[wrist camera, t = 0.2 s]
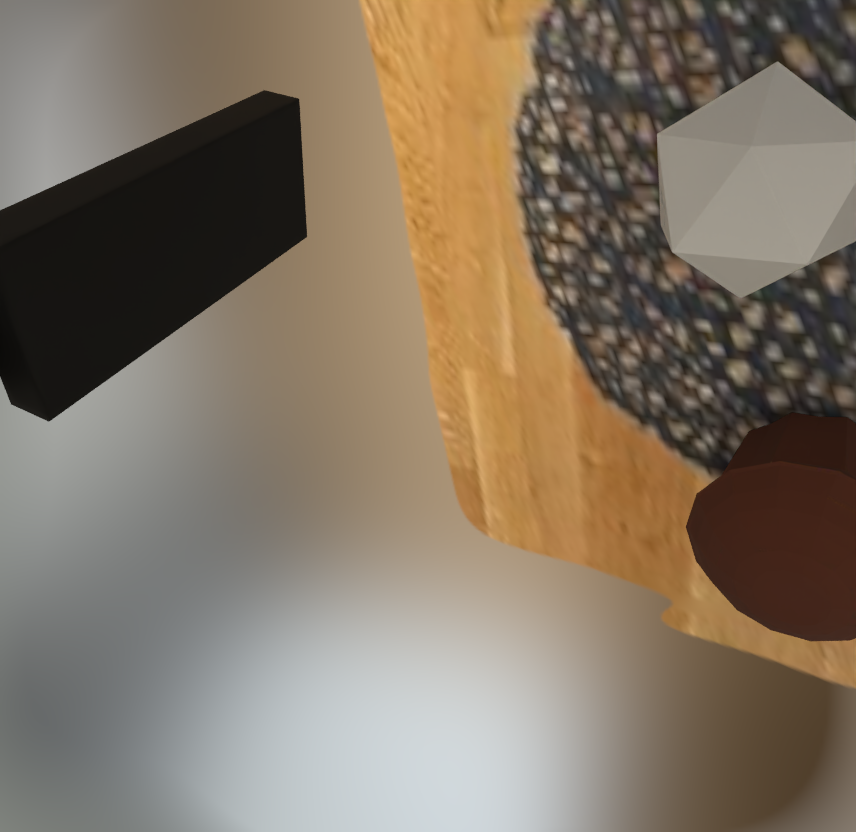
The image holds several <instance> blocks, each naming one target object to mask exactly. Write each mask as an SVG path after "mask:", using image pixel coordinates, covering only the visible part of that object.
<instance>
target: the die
mask: <svg viewBox="0 0 856 832" xmlns="http://www.w3.org/2000/svg"><path fill="white" fill-rule="evenodd" d="M657 148H658V171H659V194H660V217H661V227H662V229H663V232H664V234H665V236H666V239H667V241H668V243H669V246H670V248H671V250H672V252H673V253H674V254H676V255H677V256H679V257H680V258H682V259H683V260H684V261H686V262H687V263H689V264H690V265H692V266H693V267H695V268H696V269H698V270H699V271H701V272H702V273H704V274H705V275H707V276H708V277H710V278H711V279H713V280H714V281H715V282H717V283H718V284H720V285H721V286H723V287H724V288H726V289H727V290H729V291H730V292H732V293H733V294H735V295H736V296H738V297H739V298H743V297H745V296H747V295H749V294H751V293H753V292H755V291H757V290H759V289H761V288H763V287H765V286H767V285H769V284H771V283H773V282H775V281H777V280H779V279H781V278H783V277H785V276H787V275H789V274H791V273H793V272H795V271H797V270H799V269H801V268H803V267H805V266H807V265H809V264H811V263H813V262H815V261H817V260H819V259H821V258H823V257H825V256H827V255H829V254H831V253H833V252H835V251H837V250H839V249H841V248H843V247H845V246H847V245H849V244H851V243H853V242H855V241H856V121H855V120H854V119H852V118H851V117H850V116H848V115H847V114H846V113H844V112H843V111H842V110H840V109H839V108H838V107H837V106H835V105H834V104H833V103H831V102H830V101H829V100H827V99H826V98H825V97H824V96H822V95H821V94H820V93H818V92H817V91H816V90H814V89H813V88H812V87H810V86H809V85H808V84H807V83H805V82H804V81H803V80H801V79H800V78H799V77H797V76H796V75H795V74H793V73H792V72H791V71H790V70H788V69H787V68H786V67H784V66H783V65H782V64H780V63H779V62H778V61H777V62H776V63H774V64H772V65H771V66H769V67H767V68H766V69H764V70H762V71H761V72H759V73H757V74H756V75H754V76H752V77H751V78H749V79H747V80H746V81H744V82H743V83H741V84H739V85H738V86H736V87H734V88H733V89H731V90H729V91H728V92H726V93H724V94H723V95H721V96H719V97H718V98H716V99H714V100H713V101H711V102H709V103H708V104H706V105H704V106H703V107H701V108H699V109H698V110H696V111H694V112H693V113H691V114H690V115H688V116H686V117H685V118H683V119H681V120H680V121H678V122H676V123H675V124H673V125H671V126H670V127H668V128H666V129H665V130H663V131H661V132H660V133H658V134H657Z"/></svg>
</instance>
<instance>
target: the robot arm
mask: <svg viewBox="0 0 856 832" xmlns="http://www.w3.org/2000/svg"><path fill="white" fill-rule="evenodd" d="M306 237H307V229H306V212H305V194H304V176H303V158H302V141H301V123H300V106H299V99H298V98H294V97H290V96H286V95H282V94H277V93H273V92H269V91H262V92H260V93H258V94H255V95H253V96H251V97H249V98H246V99H244V100H242V101H240V102H238V103H235V104H233V105H231V106H229V107H227V108H224V109H222V110H220V111H218V112H216V113H213V114H211V115H209V116H207V117H205V118H203V119H201V120H198V121H196V122H194V123H192V124H189V125H187V126H185V127H183V128H180V129H178V130H176V131H174V132H172V133H169V134H167V135H165V136H163V137H161V138H158V139H156V140H154V141H152V142H150V143H148V144H145V145H143V146H141V147H139V148H137V149H134V150H132V151H130V152H128V153H126V154H123V155H121V156H119V157H117V158H115V159H112V160H110V161H108V162H106V163H104V164H101V165H99V166H97V167H95V168H93V169H91V170H88V171H86V172H84V173H82V174H79V175H77V176H75V177H73V178H71V179H68V180H66V181H64V182H62V183H60V184H57V185H55V186H53V187H51V188H49V189H46V190H44V191H42V192H40V193H38V194H36V195H33V196H31V197H29V198H27V199H24V200H22V201H20V202H18V203H16V204H14V205H11V206H9V207H7V208H5V209H2V210H0V377H1V379H2V382H3V385H4V387H5V389H6V392H7V394H8V397H9V400H10V402H11V404H12V405H14V406H16V407H18V408H21V409H23V410H25V411H27V412H29V413H32V414H34V415H36V416H38V417H40V418H42V419H45V420H47V421H50V420H52V419H53V418H55V417H56V416H57V415H59V414H60V413H62V412H63V411H64V410H66V409H67V408H69V407H70V406H71V405H73V404H74V403H75V402H77V401H78V400H80V399H81V398H83V397H84V396H85V395H87V394H88V393H89V392H91V391H92V390H94V389H95V388H96V387H98V386H99V385H101V384H102V383H103V382H105V381H106V380H108V379H109V378H110V377H112V376H113V375H115V374H116V373H117V372H119V371H120V370H122V369H123V368H124V367H126V366H127V365H129V364H130V363H131V362H133V361H134V360H136V359H137V358H138V357H140V356H141V355H143V354H144V353H145V352H147V351H148V350H150V349H151V348H152V347H154V346H155V345H156V344H158V343H159V342H161V341H162V340H164V339H165V338H166V337H168V336H169V335H170V334H172V333H173V332H175V331H176V330H178V329H179V328H180V327H182V326H183V325H184V324H186V323H187V322H188V321H190V320H191V319H193V318H194V317H196V316H197V315H198V314H200V313H201V312H203V311H204V310H205V309H207V308H208V307H210V306H211V305H212V304H214V303H215V302H217V301H218V300H219V299H221V298H222V297H224V296H225V295H226V294H228V293H229V292H230V291H232V290H233V289H235V288H236V287H238V286H239V285H240V284H242V283H243V282H244V281H246V280H247V279H249V278H250V277H252V276H253V275H254V274H256V273H257V272H258V271H260V270H261V269H263V268H264V267H266V266H267V265H268V264H269V263H271V262H273V261H274V260H275V259H276V258H278V257H279V256H281V255H282V254H284V253H285V252H286V251H288V250H289V249H291V248H292V247H293V246H295V245H296V244H298V243H299V242H300V241H302V240H303V239H305V238H306Z"/></svg>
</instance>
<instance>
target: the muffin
mask: <svg viewBox="0 0 856 832" xmlns="http://www.w3.org/2000/svg"><path fill="white" fill-rule="evenodd" d="M686 529H687V532H688V535H689V539H690V542H691V545H692V549H693V552H694V555H695V559H696V562H697V563H698V564H699V565H700V566H701V568H702V569H703V571H704V572H705V574H706V575H707V576H708V577H709V579H710V580H711V581H712V582H713V584H714V585H715V586H716V587H717V588H718V589H719V590H720V591H721V593H722V594H723V595H724V596H725V597H726V598H727V599H728V600H729V601H730V603H731V604H732V605H733V606H734V607H735V608H736V609H737V610H738V611H740V612H741V613H743V614H745V615H747V616H748V617H750V618H752V619H753V620H755V621H757V622H758V623H760V624H762V625H763V626H765V627H767V628H768V629H770V630H772V631H776V632H780V633H783V634H787V635H791V636H794V637H798V638H801V639H805V640H809V641H843V640H852V639H855V638H856V424H855V423H854V422H853V421H852V420H850V419H849V418H848V417H818V416H811V415H805V414H799V413H793V412H792V413H790V414H788V415H786V416H784V417H783V418H781V419H779V420H777V421H775V422H773V423H772V424H769V425H766V426H763V427H760V428H757V429H754V430H751V431H749V432H748V434H747V435H746V437H745V439H744V440H743V442H742V443H741V445H740V447H739V448H738V450H737V451H736V453H735V455H734V456H733V458H732V459H731V461H730V463H729V464H728V466H727V467H726V469H725V471H724V472H723V474H722V476H721V477H719V478H718V479H717V480H715V481H714V482H712V483H711V484H710V485H708V486H707V487H706V488H704V489H703V490H702V491H700V492H699V493H697V495H696V498H695V501H694V504H693V507H692V510H691V513H690V516H689V519H688V522H687V525H686Z"/></svg>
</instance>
